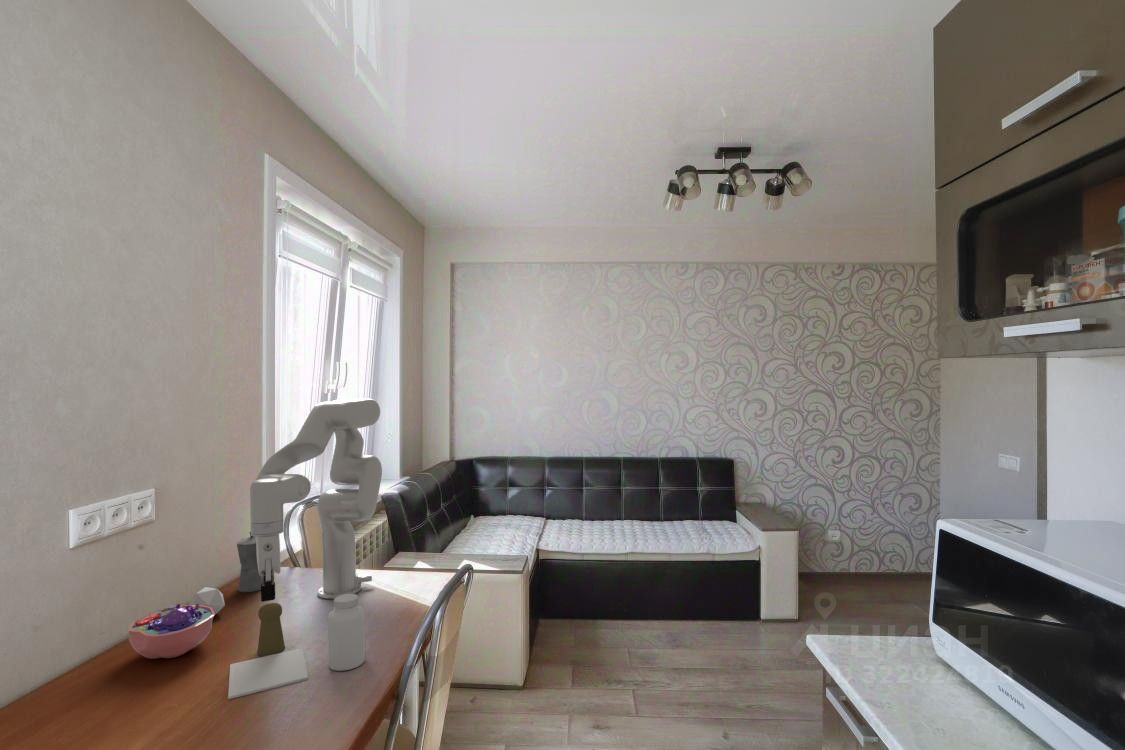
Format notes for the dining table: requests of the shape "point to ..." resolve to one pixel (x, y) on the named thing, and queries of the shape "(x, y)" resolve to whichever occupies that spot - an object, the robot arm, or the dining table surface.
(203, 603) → the die
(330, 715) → the dining table surface
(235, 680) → the mat
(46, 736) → the dining table surface
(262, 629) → the cork
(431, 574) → the dining table surface
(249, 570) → the coffeepot
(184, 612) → the cell model
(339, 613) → the pill bottle
